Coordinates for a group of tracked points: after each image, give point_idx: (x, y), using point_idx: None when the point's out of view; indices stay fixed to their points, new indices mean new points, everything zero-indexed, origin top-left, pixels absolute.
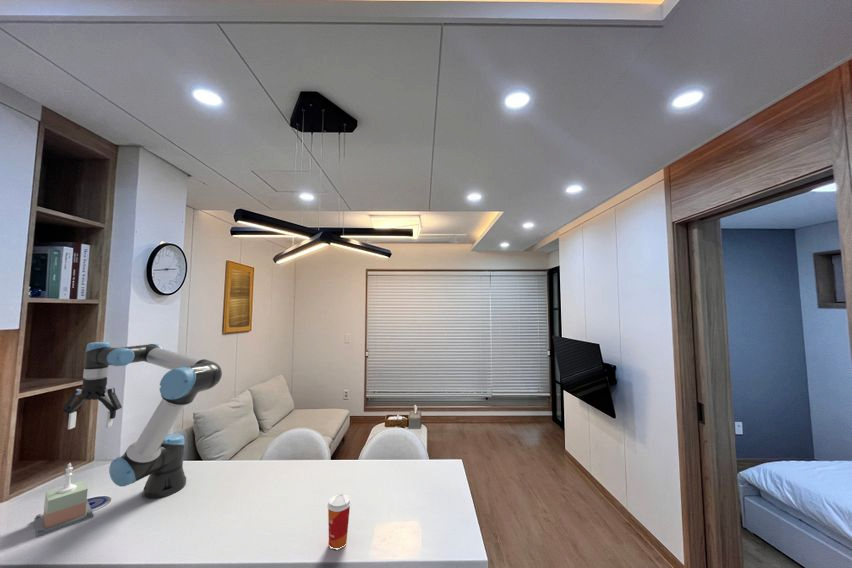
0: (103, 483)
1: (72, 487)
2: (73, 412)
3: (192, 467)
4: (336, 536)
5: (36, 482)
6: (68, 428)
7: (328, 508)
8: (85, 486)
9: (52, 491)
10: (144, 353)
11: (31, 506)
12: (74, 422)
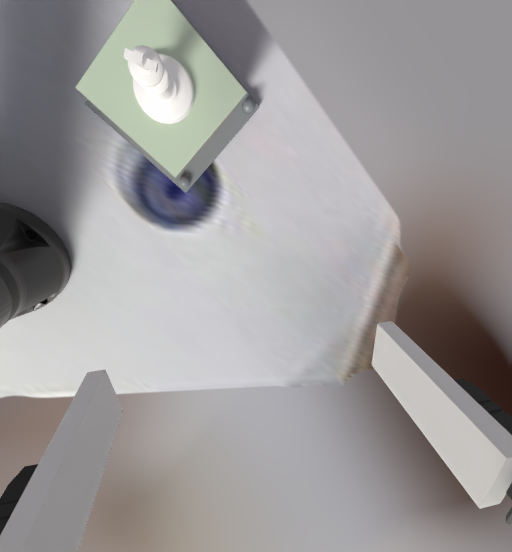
0: (234, 290)
1: (136, 83)
2: (503, 489)
3: (46, 365)
4: None
5: (397, 297)
6: (392, 326)
7: None
8: (108, 113)
9: (215, 83)
10: None
11: (326, 190)
12: (398, 388)
